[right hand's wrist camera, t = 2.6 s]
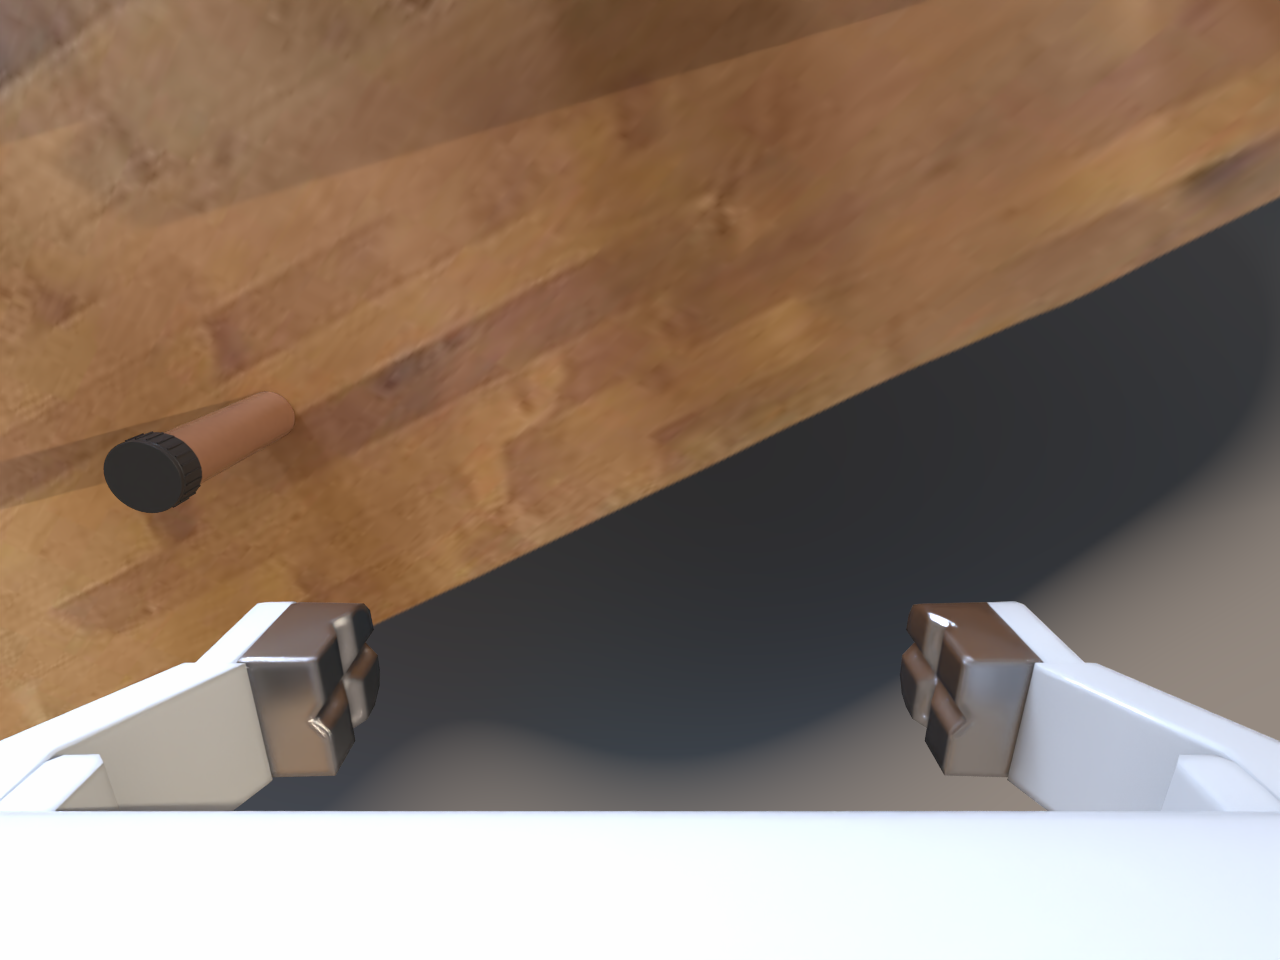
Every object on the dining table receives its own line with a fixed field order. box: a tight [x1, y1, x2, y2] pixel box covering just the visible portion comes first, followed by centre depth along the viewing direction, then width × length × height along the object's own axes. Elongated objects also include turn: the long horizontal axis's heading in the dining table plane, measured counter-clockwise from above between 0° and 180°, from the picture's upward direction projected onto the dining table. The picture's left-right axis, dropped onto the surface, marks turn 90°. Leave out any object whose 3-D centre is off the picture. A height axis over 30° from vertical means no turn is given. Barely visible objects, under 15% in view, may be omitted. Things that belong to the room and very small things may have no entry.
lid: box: [104, 432, 202, 513], centre depth 44 cm, size 5×5×2 cm
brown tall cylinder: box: [164, 392, 295, 484], centre depth 51 cm, size 4×4×16 cm
